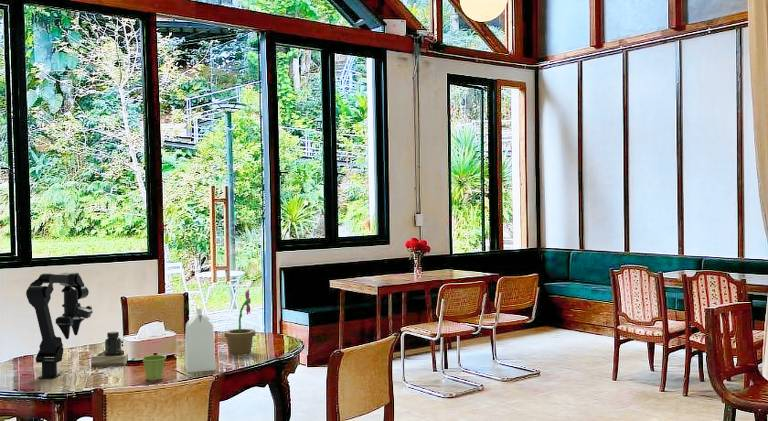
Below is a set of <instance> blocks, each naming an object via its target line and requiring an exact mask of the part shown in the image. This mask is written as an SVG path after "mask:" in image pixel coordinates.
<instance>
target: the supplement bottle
mask: <svg viewBox="0 0 768 421" xmlns="http://www.w3.org/2000/svg"><path fill="white" fill-rule="evenodd" d="M106 335H107V336H106V337H107V338H106V339H105V341H104V350H105V356H121V350H122V339H121V338H120V337H119V336H120V335H119V331H110V332H107V334H106Z"/></svg>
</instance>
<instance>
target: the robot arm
mask: <svg viewBox="0 0 768 421" xmlns="http://www.w3.org/2000/svg"><path fill="white" fill-rule="evenodd" d="M43 284H48V285H43ZM54 284H59V285H60V286H63V289H61V293H63V304H62V305H61V307H62V308H63V313H61V316H58V317H57V318H55V324H56V325H57V327H58V328H59V329H60V331H61V333H62V334H63V337H64V338H65V339H66V340H69V339H70V333H71V329H72V332H73V335H74V336H78V334H79V330H80V327H81V323H82V322H83V321H84V320H86V319H89V318H91V315H92V314H93V313H94V312H93V311H94V310H93V307H92V306H91V305H87V306H86V307H85V306H82V305H81V303H80V302H79V300H81V299H85V298H87V297H88V295H89V288H88V287H87V286H85V283H84V282H83V278H82V277H81V275H80V273H79V272H63V273H60V274H59V273H57V274H54V273H41V274H40V275H39V277H38V278H37V279H36V280H34V281H32V282H31V283H30V284H29V286H28V287H27V289H26V291H25V297H26V299H27V301H28V304H30V305H31V307H33V308H34V310H35V314H36V319H37V323H38V327H39V332H40V335H41V342H40V343H39V346H38V347H39V350H38V352H37V355H36V357H35V363H36V364H39V363H41V375H40V376H38V377H37V378H38V379H55V378H57V377H58V376H61V373H58V363H60V362H62V360H63V355H64V344H63V342H62V337H61V336H56V334H55V330H54V324H53V321H52V320H53V319H52V317H51V316H52V315H51V312H50V308H49V303H50V300H51V298H52V293H53V291H54Z"/></svg>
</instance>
